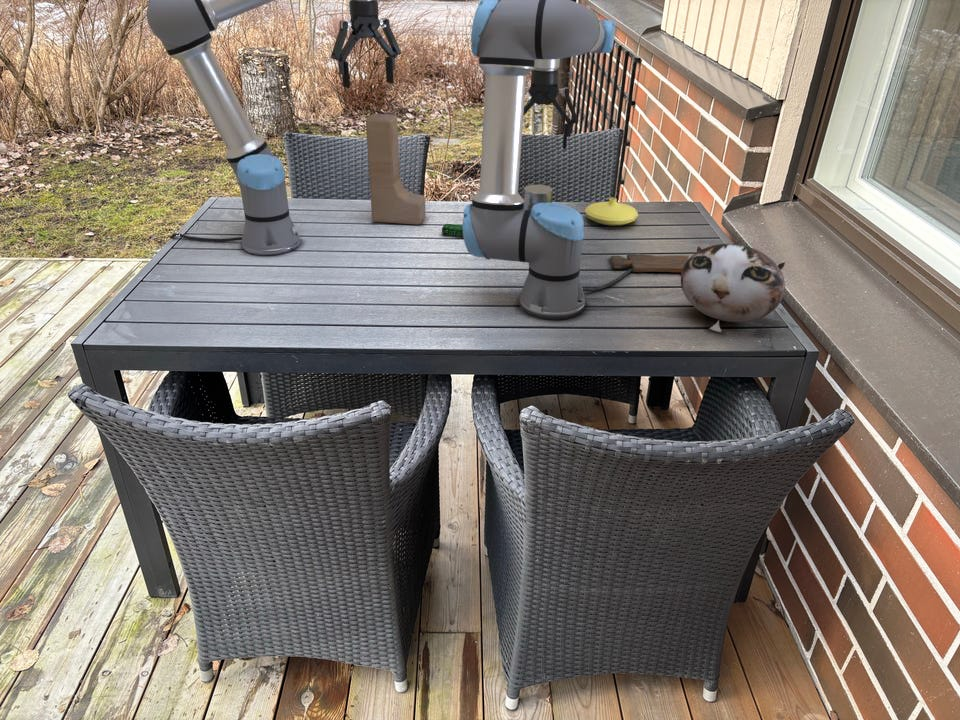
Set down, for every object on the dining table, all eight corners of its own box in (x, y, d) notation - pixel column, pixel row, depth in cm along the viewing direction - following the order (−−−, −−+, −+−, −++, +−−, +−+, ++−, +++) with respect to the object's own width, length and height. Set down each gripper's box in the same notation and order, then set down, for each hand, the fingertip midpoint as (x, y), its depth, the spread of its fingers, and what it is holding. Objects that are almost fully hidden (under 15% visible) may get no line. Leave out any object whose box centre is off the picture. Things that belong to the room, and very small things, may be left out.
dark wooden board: (713, 276, 184) (704, 260, 192) (715, 269, 183) (705, 255, 191) (613, 272, 184) (608, 257, 192) (614, 266, 183) (609, 251, 192)
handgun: (511, 219, 210) (493, 234, 198) (511, 228, 211) (492, 244, 199) (461, 212, 215) (440, 226, 203) (461, 221, 217) (440, 236, 204)
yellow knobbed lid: (599, 209, 226) (601, 187, 223) (645, 219, 218) (648, 197, 215) (575, 222, 215) (576, 200, 212) (622, 234, 207) (625, 211, 204)
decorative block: (420, 225, 212) (417, 121, 196) (371, 222, 213) (364, 118, 198) (426, 217, 218) (423, 115, 203) (378, 214, 220) (371, 113, 204)
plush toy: (658, 308, 155) (687, 223, 157) (673, 329, 171) (700, 252, 172) (764, 333, 144) (794, 241, 146) (770, 354, 160) (797, 271, 162)
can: (519, 217, 220) (520, 185, 215) (545, 215, 221) (547, 183, 216) (526, 226, 212) (528, 194, 207) (554, 225, 214) (556, 192, 209)
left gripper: (326, 2, 178) (333, 91, 189) (411, -2, 191) (414, 82, 202) (313, -1, 183) (321, 87, 194) (397, -4, 196) (400, 78, 207)
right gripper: (589, 67, 198) (582, 144, 209) (499, 65, 198) (497, 143, 209) (592, 71, 191) (585, 151, 202) (499, 70, 191) (497, 150, 202)
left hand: (368, 85), depth 198 cm, fingers open, 13 cm apart
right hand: (540, 147), depth 206 cm, fingers open, 13 cm apart
